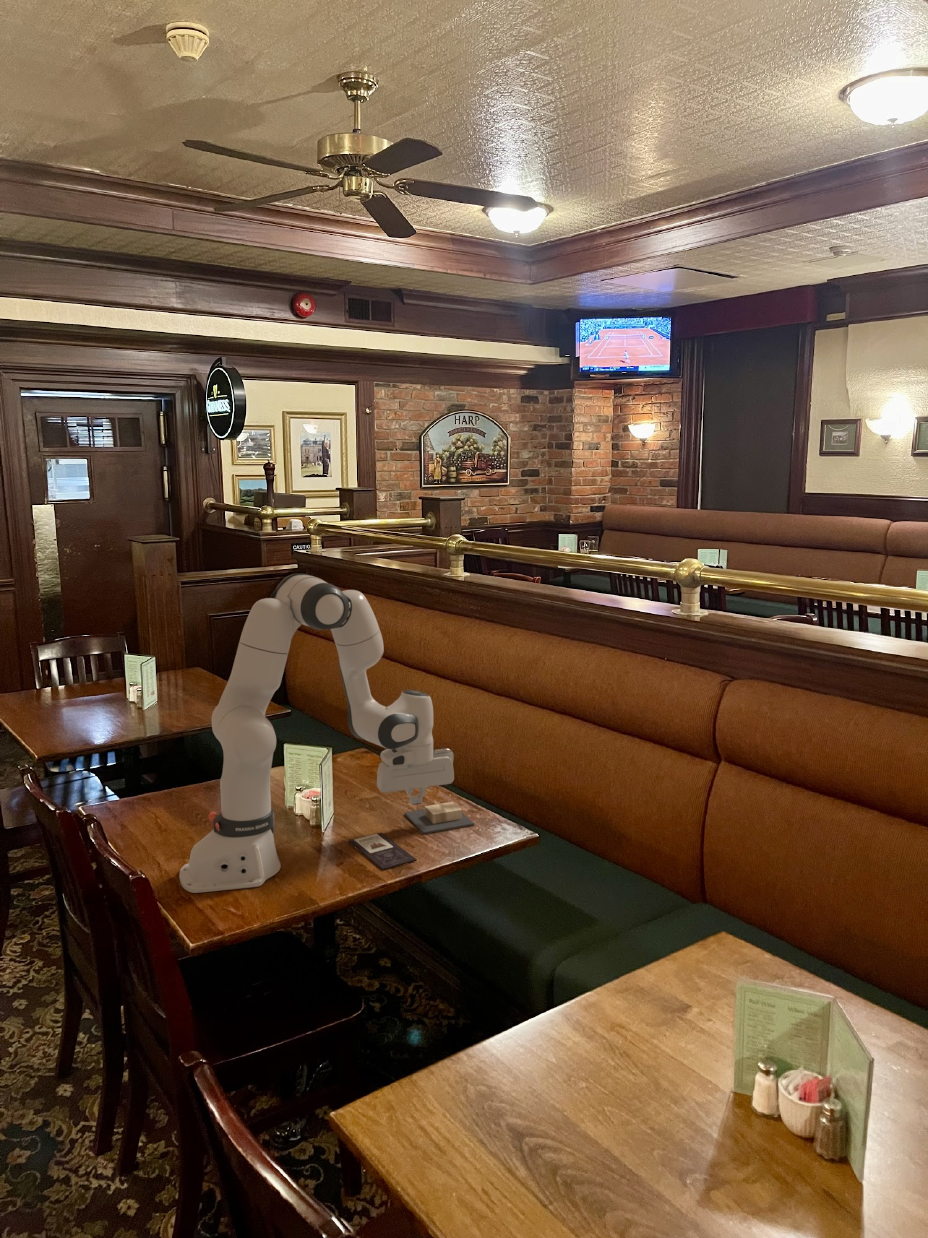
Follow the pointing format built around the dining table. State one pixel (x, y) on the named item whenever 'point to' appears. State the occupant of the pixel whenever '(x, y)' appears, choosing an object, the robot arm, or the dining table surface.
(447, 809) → the beech slab
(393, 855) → the chocolate bar
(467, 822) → the bar mat
